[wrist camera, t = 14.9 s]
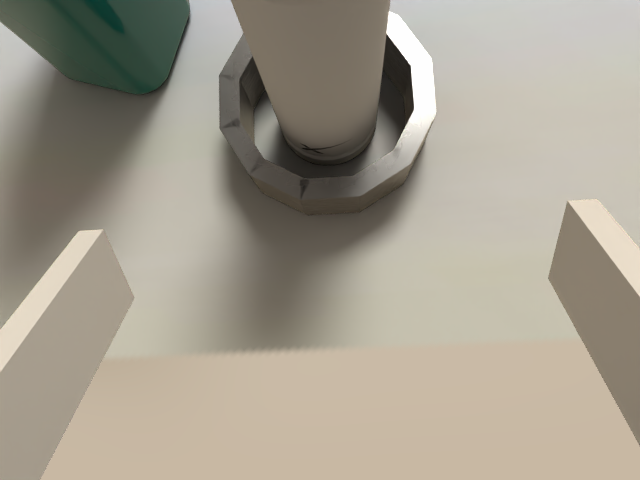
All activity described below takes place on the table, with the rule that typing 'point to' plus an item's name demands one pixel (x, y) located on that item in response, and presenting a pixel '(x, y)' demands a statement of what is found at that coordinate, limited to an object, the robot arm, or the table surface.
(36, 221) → the table surface
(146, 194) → the table surface
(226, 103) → the ring collar
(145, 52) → the green bottle
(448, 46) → the table surface
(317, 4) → the travel mug
